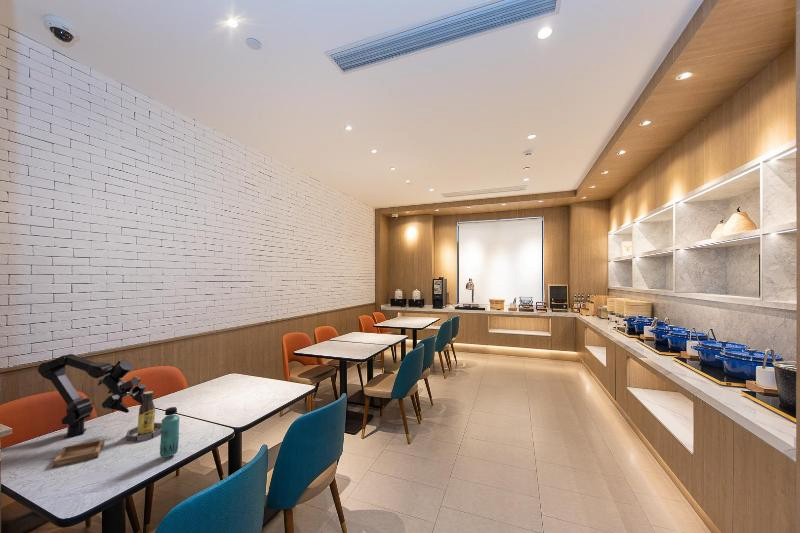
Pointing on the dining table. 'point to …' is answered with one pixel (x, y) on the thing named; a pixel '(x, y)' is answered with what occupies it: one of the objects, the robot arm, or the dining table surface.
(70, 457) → the walnut tray
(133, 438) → the metal collar
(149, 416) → the sauce bottle
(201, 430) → the dining table surface
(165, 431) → the beverage bottle
